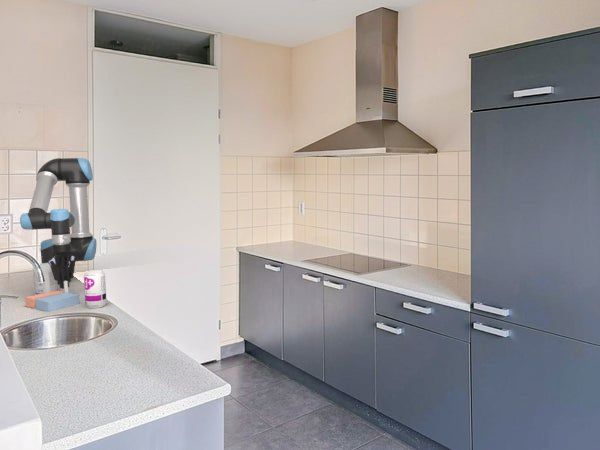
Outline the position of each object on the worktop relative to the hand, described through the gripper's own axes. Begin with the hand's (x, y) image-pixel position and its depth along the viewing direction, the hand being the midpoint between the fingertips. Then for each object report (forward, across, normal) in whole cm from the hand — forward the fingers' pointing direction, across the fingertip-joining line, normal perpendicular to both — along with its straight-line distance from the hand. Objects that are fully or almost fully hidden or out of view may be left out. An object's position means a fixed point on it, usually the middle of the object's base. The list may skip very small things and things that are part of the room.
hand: (65, 295), depth 218 cm
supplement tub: (+2, 0, +14) cm, 14 cm away
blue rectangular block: (+2, -9, -9) cm, 13 cm away
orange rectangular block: (+2, -9, 0) cm, 9 cm away
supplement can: (+2, -1, -24) cm, 24 cm away
